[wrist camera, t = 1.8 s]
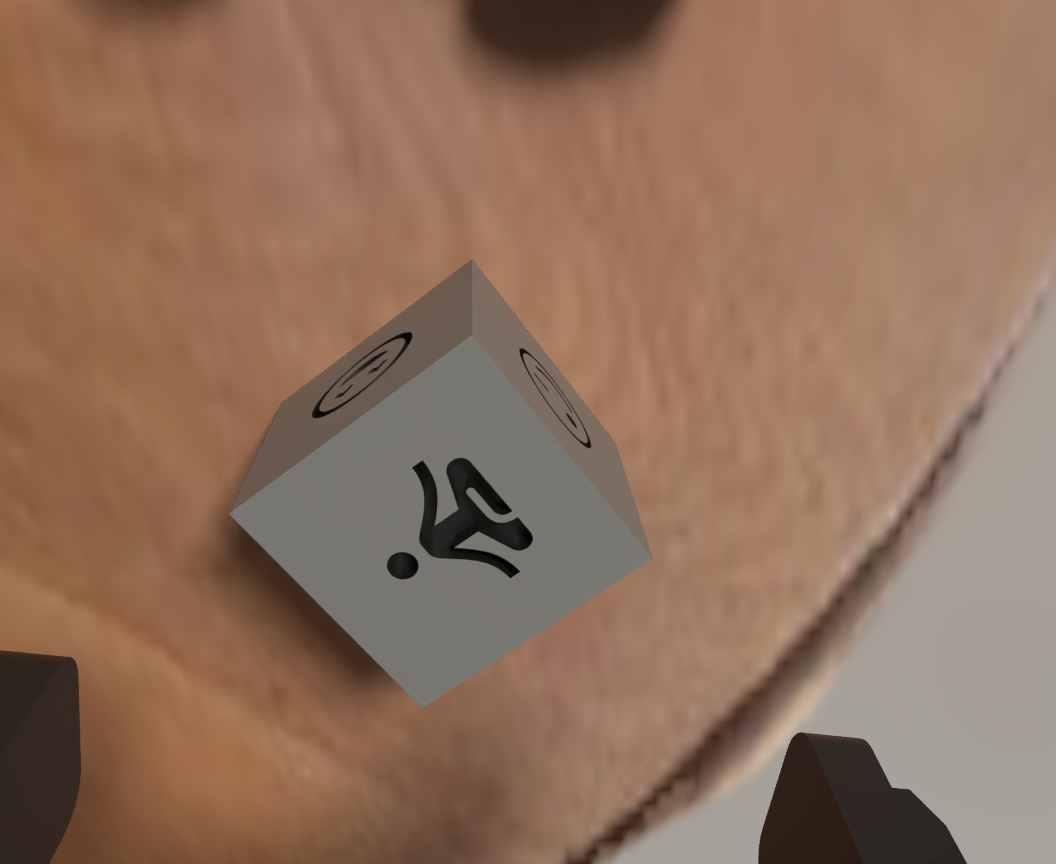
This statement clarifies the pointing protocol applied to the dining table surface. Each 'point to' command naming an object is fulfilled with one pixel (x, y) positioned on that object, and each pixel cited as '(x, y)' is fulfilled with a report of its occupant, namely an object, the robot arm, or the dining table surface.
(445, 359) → the dice cube
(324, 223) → the dining table surface
